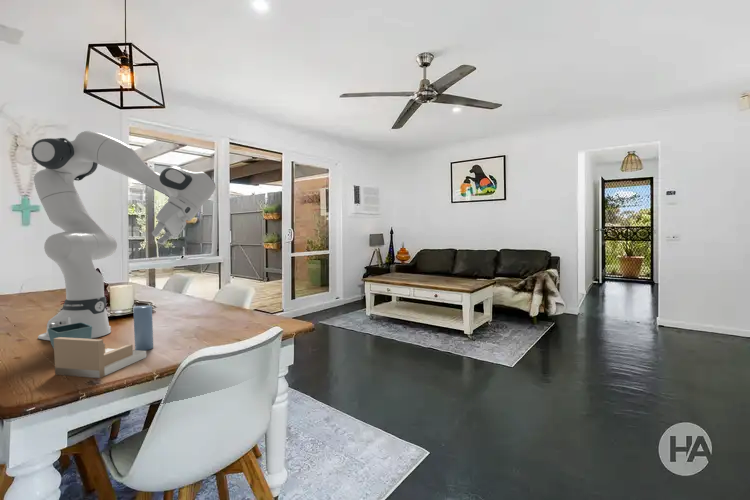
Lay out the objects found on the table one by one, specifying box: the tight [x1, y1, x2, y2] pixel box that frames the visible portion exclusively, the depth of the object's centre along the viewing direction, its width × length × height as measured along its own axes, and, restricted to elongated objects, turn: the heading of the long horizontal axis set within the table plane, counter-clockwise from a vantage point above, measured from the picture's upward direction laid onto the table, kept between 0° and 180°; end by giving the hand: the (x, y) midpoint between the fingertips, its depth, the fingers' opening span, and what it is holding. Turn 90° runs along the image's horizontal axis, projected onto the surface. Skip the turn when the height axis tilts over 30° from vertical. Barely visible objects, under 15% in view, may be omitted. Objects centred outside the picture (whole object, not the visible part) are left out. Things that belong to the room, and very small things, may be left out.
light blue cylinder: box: [133, 305, 154, 352], centre depth 120 cm, size 5×5×14 cm
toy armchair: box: [53, 337, 147, 379], centre depth 105 cm, size 14×16×10 cm
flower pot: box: [48, 322, 92, 349], centre depth 114 cm, size 9×9×9 cm
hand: (156, 239), depth 127 cm, fingers open, 8 cm apart
